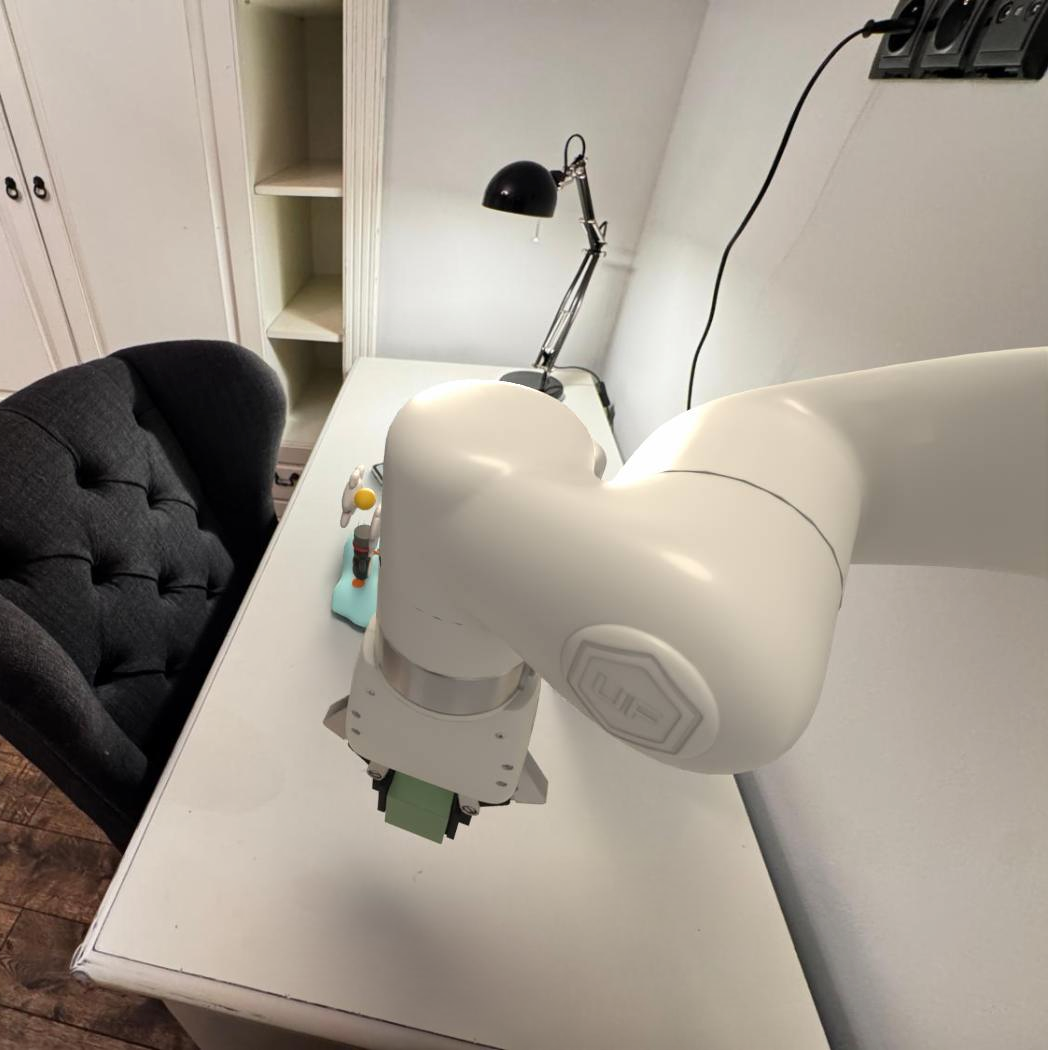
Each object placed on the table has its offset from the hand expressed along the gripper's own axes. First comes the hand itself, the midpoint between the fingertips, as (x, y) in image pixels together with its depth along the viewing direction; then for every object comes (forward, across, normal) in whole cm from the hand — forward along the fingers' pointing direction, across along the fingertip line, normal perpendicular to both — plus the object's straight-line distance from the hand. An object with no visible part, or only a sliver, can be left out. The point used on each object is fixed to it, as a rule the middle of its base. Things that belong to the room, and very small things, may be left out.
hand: (421, 802), depth 39 cm
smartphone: (+17, +17, -62) cm, 67 cm away
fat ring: (+17, -5, -69) cm, 71 cm away
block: (0, 0, 0) cm, 0 cm away
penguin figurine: (+17, +15, -35) cm, 42 cm away
